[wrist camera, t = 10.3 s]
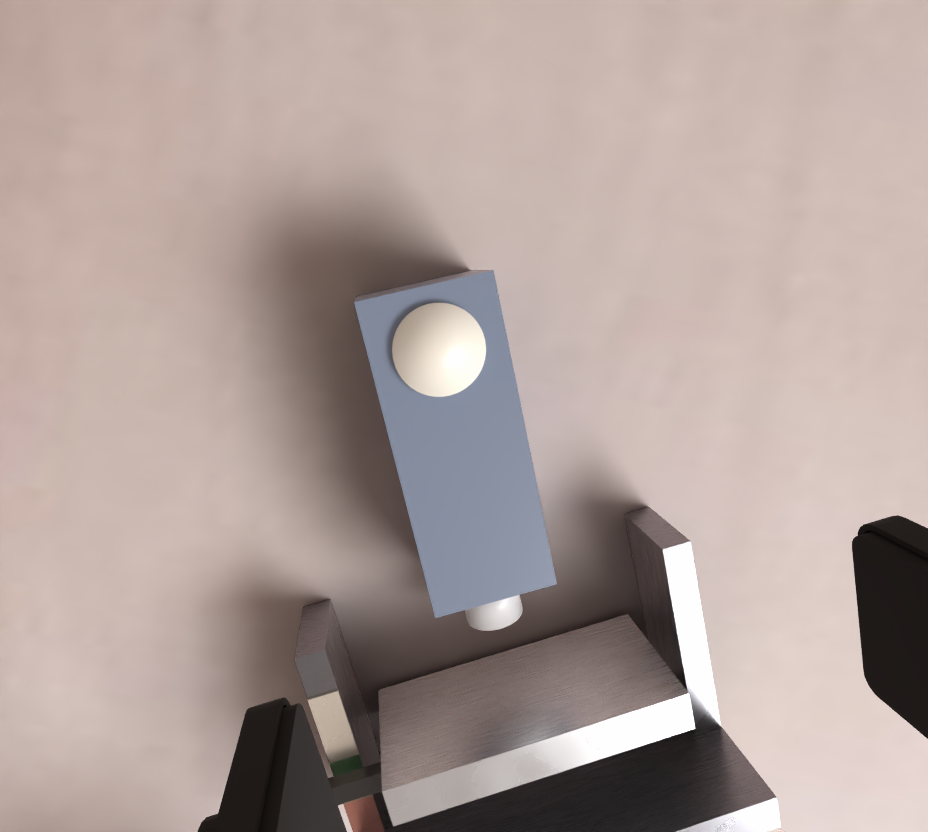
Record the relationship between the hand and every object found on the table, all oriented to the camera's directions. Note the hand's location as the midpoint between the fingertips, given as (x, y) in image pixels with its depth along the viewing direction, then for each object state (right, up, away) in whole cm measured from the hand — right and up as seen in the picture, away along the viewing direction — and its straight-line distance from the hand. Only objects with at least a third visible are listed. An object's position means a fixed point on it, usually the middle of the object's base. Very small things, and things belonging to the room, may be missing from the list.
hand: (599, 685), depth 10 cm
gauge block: (-3, +4, +18) cm, 18 cm away
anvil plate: (-1, -8, +20) cm, 21 cm away
